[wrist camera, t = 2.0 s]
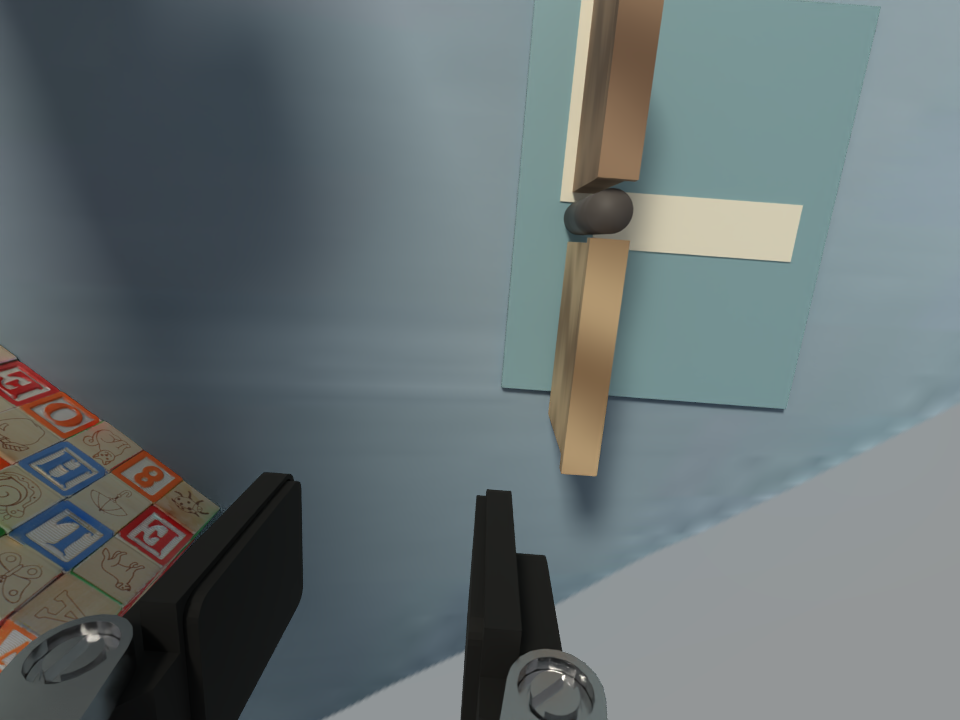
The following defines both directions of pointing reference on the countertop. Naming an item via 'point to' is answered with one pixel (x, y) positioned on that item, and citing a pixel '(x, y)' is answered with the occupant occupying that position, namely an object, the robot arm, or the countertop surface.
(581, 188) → the fixed fence panel
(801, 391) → the countertop surface
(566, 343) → the panel
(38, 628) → the stack of blocks
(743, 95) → the board
